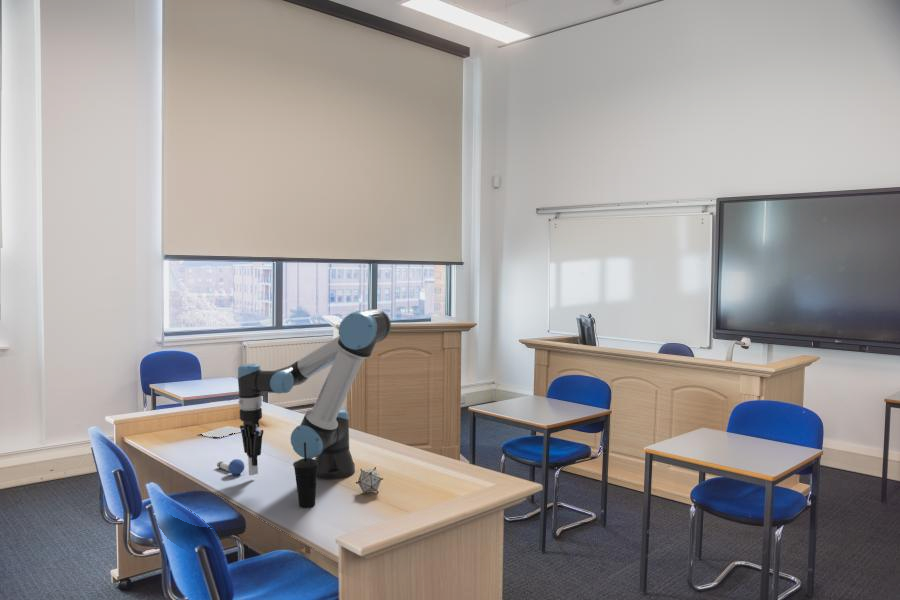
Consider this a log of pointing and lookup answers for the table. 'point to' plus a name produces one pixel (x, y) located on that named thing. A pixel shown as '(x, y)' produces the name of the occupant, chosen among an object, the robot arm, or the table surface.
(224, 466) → the pin
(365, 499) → the table surface
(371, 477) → the game die
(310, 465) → the drinking cup
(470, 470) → the table surface
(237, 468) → the ball
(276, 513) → the table surface
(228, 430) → the paper stack
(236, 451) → the table surface
